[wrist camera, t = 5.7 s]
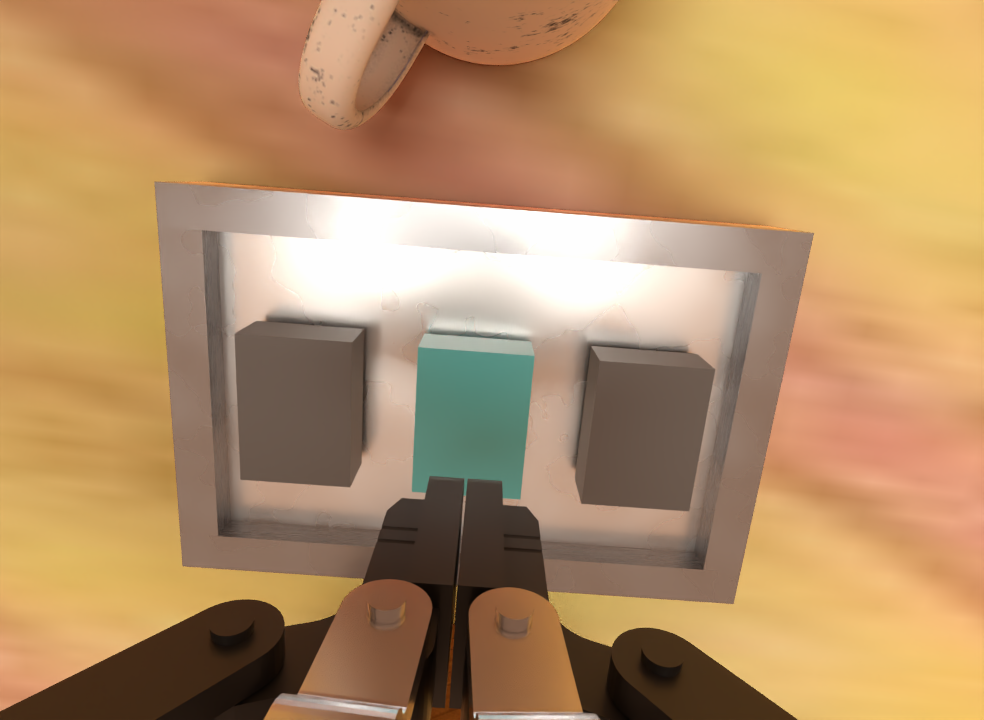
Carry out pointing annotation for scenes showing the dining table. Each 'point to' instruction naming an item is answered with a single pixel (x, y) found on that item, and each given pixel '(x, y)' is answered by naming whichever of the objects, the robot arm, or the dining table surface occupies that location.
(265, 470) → the grey rectangular prism
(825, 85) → the dining table surface
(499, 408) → the teal rectangular box
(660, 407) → the dark taupe block
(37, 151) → the dining table surface
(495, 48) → the teacup with lid
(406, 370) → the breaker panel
